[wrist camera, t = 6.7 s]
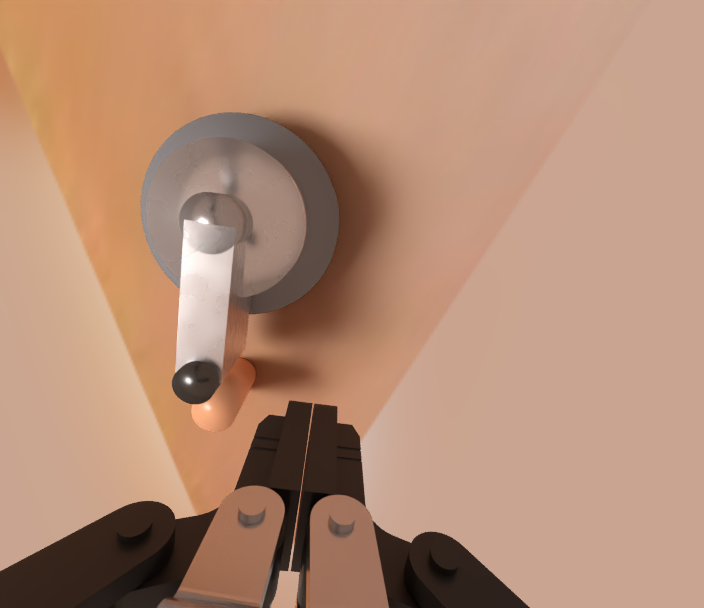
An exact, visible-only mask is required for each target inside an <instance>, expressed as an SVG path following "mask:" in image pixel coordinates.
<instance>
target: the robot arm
mask: <svg viewBox="0 0 704 608" xmlns="http://www.w3.org/2000/svg"><path fill="white" fill-rule="evenodd" d="M311 410H312V403H306V402H298V401H289V404H288V408H287V412H286V416H285V417H283V416H275V415H269V416H267V417H266V418H265V419H264V420H263V421H262V422H261V423H259V425H258V428H257V430H256V433H255V436H254V439H253V441H252V444H251V447H250V449H249V452H248V455H247V458H246V460H245V463H244V466H243V469H242V471H241V474H240V477H239V480H238V482H237V485H236V488H235V490H234V491H233V492H232V493H230V494H229V495H228V496H226V498H225V499H224V500H223V501H222V503H221V504H220V506H219V507H218V508H217V509H215V510H213V511H211V512H208V513H205V514H202V515H198V516H192V517H188V518H187V517H186V518H181V519H175V516H174V513H173V512H172V510H171V509H170V508H169V507H168V506H166V505H164V504H162V503H159V502H153V501H142V502H137V503H132V504H129V505H126V506H124V507H122V508H120V509H118V510H116V511H114V512H112V513H110V514H108V515H106V516H104V517H102V518H101V519H99V520H97V521H95V522H93V523H91V524H89V525H87V526H85V527H83V528H82V529H80V530H78V531H76V532H74V533H72V534H70V535H68V536H67V537H65V538H63V539H61V540H59V541H57V542H55V543H53V544H51V545H50V546H47V547H46V548H44V549H42V550H40V551H38V552H36V553H34V554H32V555H30V556H28V557H27V558H25V559H23V560H21V561H19V562H17V563H15V564H13V565H11V566H9V567H8V568H6V569H4V570H2V571H0V608H271V604H272V601H273V599H274V597H275V594H276V590H277V584H278V578H279V571H280V570H281V571H288V568H289V562H290V555H291V549H292V543H293V536H294V530H295V523H296V517H297V510H298V504H299V497H300V491H301V484H302V476H303V469H304V462H305V454H306V447H307V440H308V432H309V425H310V418H311ZM360 449H361V448H360V436H359V435H358V433H357V432H356V430H355V429H354V427H353V426H352V425H348V424H340V423H337V406H330V405H322V404H314V409H313V416H312V422H311V429H310V435H309V441H308V448H307V455H306V462H305V469H304V476H303V484H302V491H301V499H300V507H299V514H298V522H297V529H296V537H295V544H294V552H293V560H292V567H291V571H294V572H300V575H299V584H298V592H297V599H296V605H295V608H530V607H528V606H527V605H526V604H525V603H524V602H523V601H522V600H521V599H520V598H519V597H517V595H515V594H514V593H513V592H512V591H511V590H510V589H509V588H508V587H507V586H506V585H505V584H503V583H502V582H501V581H500V580H499V579H498V578H497V577H496V576H495V575H494V574H493V573H492V572H490V571H489V570H488V569H487V568H486V567H485V566H484V565H483V564H482V563H481V562H480V561H478V560H477V559H476V558H475V557H474V556H473V555H472V554H471V553H470V552H469V551H468V550H467V549H466V548H464V547H463V546H462V545H461V544H460V543H459V542H457V541H456V540H454V539H453V538H451V537H449V536H447V535H445V534H442V533H437V532H425V533H422V534H420V535H418V536H416V537H415V538H414V539H413V541H412V543H410V542H407V541H405V540H402V539H400V538H398V537H395V536H393V535H391V534H389V533H387V532H385V531H384V530H382V529H381V528H380V527H379V526H377V525H376V524H375V522H374V521H373V520H372V517H371V515H370V512H369V511H368V510H367V509H366V506H365V496H364V484H363V473H362V462H361V451H360Z"/></svg>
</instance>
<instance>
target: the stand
mask: <svg viewBox="0 0 704 608" xmlns="http://www.w3.org/2000/svg"><path fill="white" fill-rule="evenodd" d="M209 137H227V138H234V139H238V140H242V141H245V142H247V143H250V144H252V145H255V146H256V147H258V148H260V149H262V150H263V151H265V152H266V153H268V154H269V155H271V156H272V157H273V158H275V159H276V160H277V161H279V162H280V163H281V164H282V165H283V166H284V167H285V168H286V169H287V170H288V171H289V172H290V173H291V174H292V176H293V177H294V178H295V180H296V181H297V183H298V184H299V186H300V188H301V190H302V192H303V195H304V197H305V201H306V204H307V209H308V214H309V230H308V237H307V242H306V244H305V247H304V250H303V252H302V254H301V256H300V258H299V259H298V261H297V262H296V264H295V265H294V266H293V267H292V269H291V270H290V271H289V272H288V273H287V274H286V275H285V276H284V277H283V279H281V280H280V281H279V282H278V283H277V284H275V285H274V286H272V287H271V288H269V289H267V290H265V291H263V292H261V293H259V294H256V295H252V296H251V301H250V310H249V314H260V313H267V312H270V311H274V310H278V309H280V308H283V307H285V306H287V305H289V304H291V303H293V302H295V301H296V300H298V299H300V298H301V297H302V296H303V295H305V294H306V293H307V292H309V290H310V289H311V288H312V287H313V286H314V285H315V284H316V283H317V282H318V281H319V279H320V278H321V277H322V275H323V274H324V272H325V271H326V269H327V267H328V265H329V264H330V261H331V259H332V256H333V254H334V251H335V247H336V243H337V239H338V233H339V208H338V201H337V197H336V193H335V190H334V187H333V185H332V182H331V180H330V177H329V175H328V173H327V172H326V170H325V168H324V166H323V164H322V163H321V161H320V160H319V159H318V157H317V156H316V155H315V153H314V152H313V151H312V150H311V149H310V147H309V146H308V145H307V144H306V143H305V142H304V141H303V140H302V139H300V138H299V137H298V136H297V135H295V134H294V133H293V132H291V131H290V130H288V129H287V128H285V127H283V126H282V125H280V124H278V123H276V122H273V121H271V120H269V119H267V118H263V117H260V116H256V115H252V114H246V113H219V114H212V115H209V116H205V117H202V118H199V119H197V120H194V121H192V122H190V123H188V124H186V125H185V126H183V127H182V128H180V129H179V130H177V131H176V132H175V133H174V134H172V135H171V136H170V137H169V138H168V139H167V140H166V141H165V142H164V143H163V145H162V146H161V147H160V148H159V150H158V151H157V153H156V154H155V156H154V158H153V159H152V161H151V163H150V165H149V168H148V170H147V173H146V175H145V179H144V183H143V187H142V195H141V217H142V224H143V229H144V232H145V236H146V240H147V242H148V245H149V247H150V249H151V252H152V254H153V256H154V257H155V259H156V261H157V263H158V264H159V266H160V267H161V268H162V270H163V271H164V273H165V274H166V275H167V276H168V277H169V278H170V280H171V281H172V282H173V283H174V284H175V285H176V286H177V287H179V288H180V281H181V280H180V279H179V278H178V277H176V276H175V275H174V274H173V273H172V272H171V271H170V270H169V269H168V268H167V266H166V265H165V264H164V262H163V261H162V260H161V258H160V257H159V255H158V253H157V251H156V250H155V248H154V245H153V243H152V241H151V238H150V234H149V231H148V226H147V220H146V202H147V195H148V191H149V187H150V184H151V182H152V179H153V177H154V175H155V173H156V172H157V170H158V168H159V167H160V166H161V164H162V163H163V162H164V160H165V159H166V158H168V157H169V156H170V155H171V154H172V153H173V152H174V151H176V150H177V149H179V148H180V147H182V146H184V145H186V144H188V143H190V142H193V141H196V140H199V139H203V138H209ZM255 378H256V371H255V368H254V366H253V365H252V364H251V363H250V362H249V361H247V360H245V359H243V358H239V359H238V360H237V362H236V363H235V365H234V366H233V367H232V369H231V370H230V372H229V373H228V375H227V376H226V377H225V379H224V380H223V382H222V383H221V384H220V386H219V387H218V389H217V390H216V392H215V393H214V394H213V396H212V397H211V398H210V399H209V400H208V401H207V402H205V403H202V404H193V405H192V409H191V412H192V417H193V419H194V421H195V422H196V424H197V425H198V426H200V427H201V428H202V429H204V430H207V431H211V432H219V431H223V430H225V429H227V428H229V427H230V426H231V425H232V423H233V421H234V420H235V418H236V416H237V414H238V412H239V410H240V408H241V406H242V404H243V402H244V400H245V398H246V396H247V395H248V393H249V391H250V389H251V387H252V385H253V383H254V381H255Z"/></svg>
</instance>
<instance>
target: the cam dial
mask: <svg viewBox="0 0 704 608" xmlns="http://www.w3.org/2000/svg"><path fill="white" fill-rule="evenodd" d="M146 220H147V226H148V231H149V234H150V238H151V241H152V243H153V245H154V248H155V250H156V251H157V253H158V255H159V257H160V258H161V260H162V261H163V262H164V264H165V265H166V266H167V268H168V269H169V270H170V271H171V272H172V273H173V274H174V275H175V276H176V277H178V278H179V279H180V280H181V281H180V299H179V316H178V334H177V351H176V369H175V375H174V377H173V380H172V387H173V390H174V392H175V394H176V395H177V396H178V397H179V398H180V399H181V400H182V401H184V402H186V403H189V404H202V403H205V402H207V401H208V400H209V399H210V398H211V397H212V396H213V394H214V393H215V392H216V390H217V389H218V387H219V386H220V384H221V383H222V382H223V380H224V379H225V377H226V376H227V375H228V373H229V372H230V370H231V369H232V367H233V366H234V365H235V363H236V362H237V360H238V359H239V357H240V356H241V355H242V353H243V352H244V350H245V347H246V338H247V328H248V319H249V310H250V301H251V296H252V295H256V294H259V293H261V292H263V291H265V290H267V289H269V288H271V287H272V286H274V285H275V284H277V283H278V282H279V281H280V280H281V279H283V277H284V276H285V275H286V274H287V273H288V272H289V271H290V270H291V269H292V267H293V266H294V265H295V264H296V262H297V261H298V259H299V258H300V256H301V254H302V252H303V250H304V247H305V244H306V242H307V237H308V230H309V214H308V209H307V204H306V201H305V197H304V195H303V192H302V190H301V188H300V186H299V184H298V183H297V181H296V180H295V178H294V177H293V176H292V174H291V173H290V172H289V171H288V170H287V169H286V168H285V167H284V166H283V165H282V164H281V163H280V162H279V161H277V160H276V159H275V158H273V157H272V156H271V155H269V154H268V153H266V152H265V151H263V150H262V149H260V148H258V147H256V146H255V145H252V144H250V143H247V142H245V141H242V140H238V139H234V138H227V137H209V138H203V139H199V140H196V141H193V142H190V143H188V144H186V145H184V146H182V147H180V148H179V149H177V150H176V151H174V152H173V153H172V154H171V155H170V156H169V157H168V158H166V159H165V160H164V162H163V163H162V164H161V166H160V167H159V168H158V170H157V172H156V173H155V175H154V177H153V179H152V182H151V184H150V187H149V191H148V195H147V202H146Z"/></svg>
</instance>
